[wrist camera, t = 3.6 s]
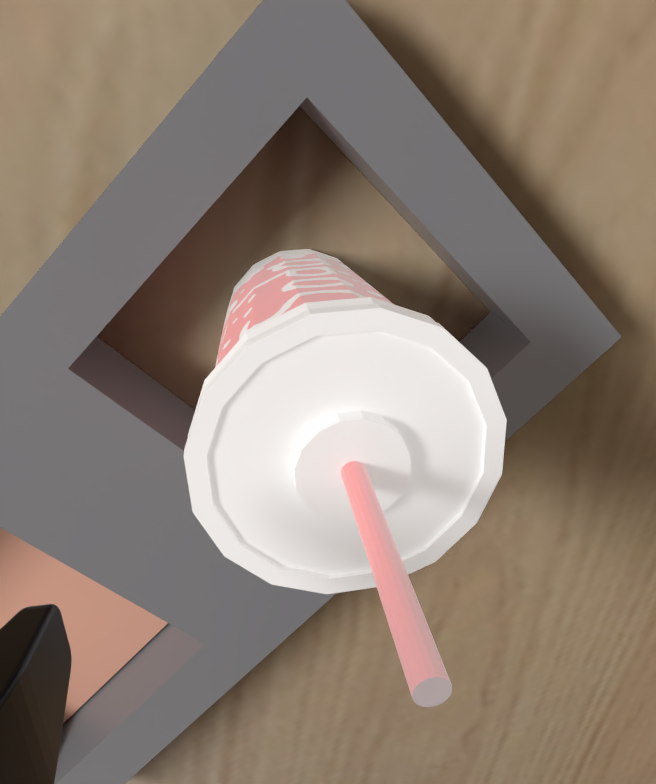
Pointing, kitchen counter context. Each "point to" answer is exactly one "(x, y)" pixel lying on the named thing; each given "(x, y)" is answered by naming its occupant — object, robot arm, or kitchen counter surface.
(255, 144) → the cup caddy
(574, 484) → the kitchen counter surface
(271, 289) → the beverage cup
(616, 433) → the kitchen counter surface
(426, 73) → the kitchen counter surface
